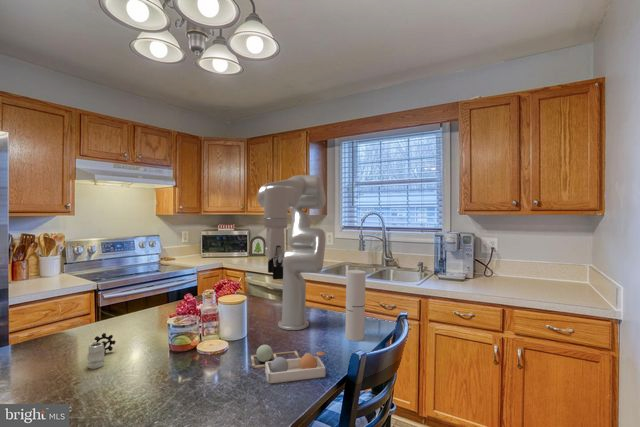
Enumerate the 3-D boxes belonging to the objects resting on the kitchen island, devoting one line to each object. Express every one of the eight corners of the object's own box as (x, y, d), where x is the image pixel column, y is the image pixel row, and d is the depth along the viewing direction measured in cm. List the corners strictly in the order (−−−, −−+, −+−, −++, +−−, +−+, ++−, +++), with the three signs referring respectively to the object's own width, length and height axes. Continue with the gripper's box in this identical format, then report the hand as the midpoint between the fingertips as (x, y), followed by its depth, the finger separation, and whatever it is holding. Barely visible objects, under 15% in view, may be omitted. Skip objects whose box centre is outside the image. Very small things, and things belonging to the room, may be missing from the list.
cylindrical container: (363, 341, 121) (364, 273, 121) (344, 339, 123) (345, 272, 123) (364, 334, 128) (366, 270, 128) (346, 333, 130) (347, 269, 130)
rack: (250, 358, 106) (250, 355, 106) (296, 353, 110) (296, 350, 110) (252, 369, 98) (252, 366, 98) (301, 364, 103) (301, 361, 103)
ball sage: (255, 358, 105) (255, 342, 105) (271, 357, 106) (271, 341, 106) (256, 365, 100) (257, 349, 100) (273, 364, 102) (273, 347, 102)
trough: (265, 371, 97) (265, 361, 97) (318, 365, 102) (318, 356, 102) (268, 385, 90) (268, 374, 90) (325, 378, 94) (325, 367, 94)
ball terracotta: (297, 368, 99) (298, 351, 98) (314, 366, 100) (314, 350, 100) (301, 377, 94) (302, 360, 94) (318, 375, 95) (319, 358, 95)
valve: (106, 368, 98) (115, 351, 109) (107, 345, 98) (115, 331, 109) (80, 371, 96) (91, 354, 107) (80, 348, 96) (92, 334, 107)
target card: (299, 353, 111) (299, 351, 111) (325, 350, 113) (325, 348, 113) (303, 361, 105) (303, 359, 105) (330, 358, 107) (330, 356, 107)
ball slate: (269, 372, 96) (269, 354, 96) (286, 370, 98) (286, 353, 98) (271, 380, 91) (272, 362, 91) (289, 378, 93) (289, 360, 93)
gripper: (260, 221, 115) (260, 270, 115) (268, 225, 98) (267, 282, 99) (282, 221, 117) (281, 269, 118) (293, 225, 101) (292, 281, 101)
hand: (275, 275), depth 108 cm, fingers open, 9 cm apart
